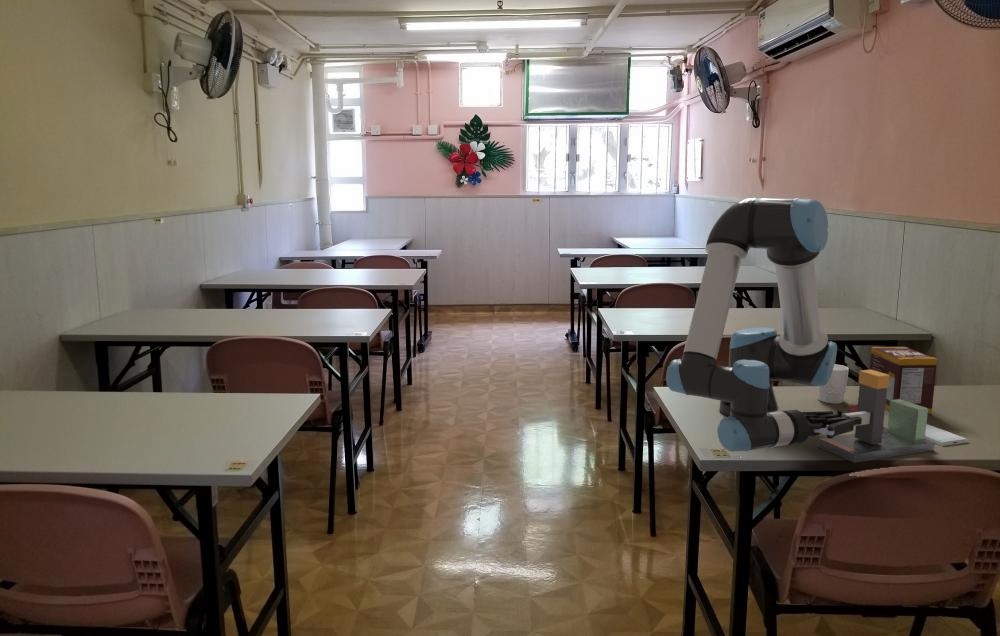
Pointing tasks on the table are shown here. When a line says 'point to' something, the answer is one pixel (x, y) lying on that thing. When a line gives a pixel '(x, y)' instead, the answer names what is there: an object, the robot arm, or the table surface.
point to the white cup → (834, 386)
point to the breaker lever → (872, 404)
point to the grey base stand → (887, 436)
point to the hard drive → (942, 436)
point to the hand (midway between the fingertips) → (867, 417)
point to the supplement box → (906, 374)
